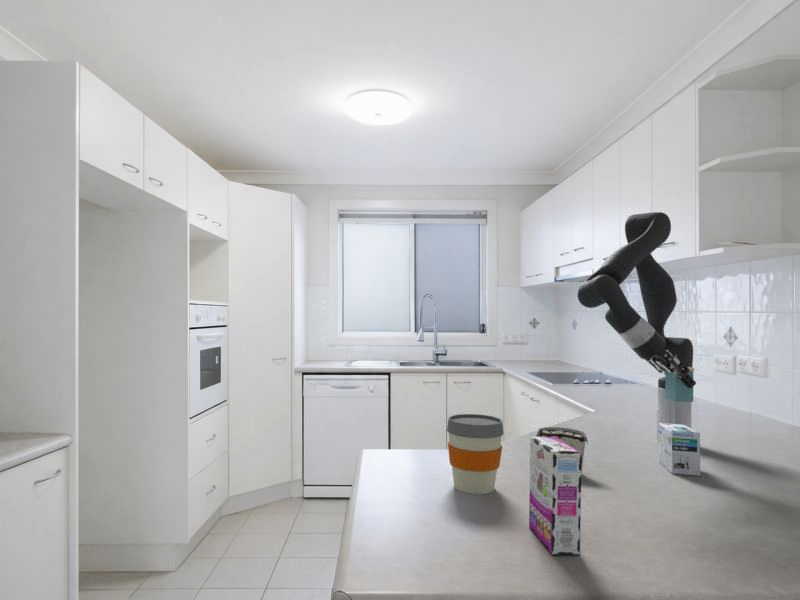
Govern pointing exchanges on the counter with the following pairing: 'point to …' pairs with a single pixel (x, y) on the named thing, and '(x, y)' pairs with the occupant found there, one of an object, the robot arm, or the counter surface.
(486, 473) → the reusable coffee cup
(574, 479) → the candy bar box
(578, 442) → the food container
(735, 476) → the counter surface
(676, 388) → the tea tin
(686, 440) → the light bulb box
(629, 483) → the counter surface
